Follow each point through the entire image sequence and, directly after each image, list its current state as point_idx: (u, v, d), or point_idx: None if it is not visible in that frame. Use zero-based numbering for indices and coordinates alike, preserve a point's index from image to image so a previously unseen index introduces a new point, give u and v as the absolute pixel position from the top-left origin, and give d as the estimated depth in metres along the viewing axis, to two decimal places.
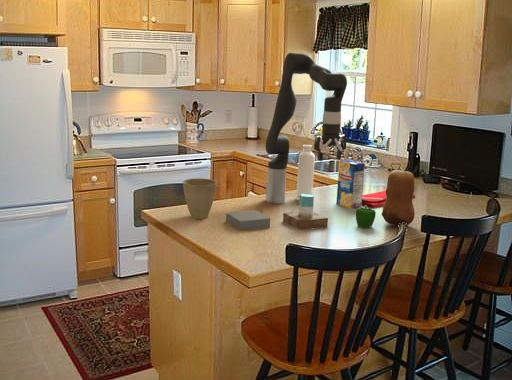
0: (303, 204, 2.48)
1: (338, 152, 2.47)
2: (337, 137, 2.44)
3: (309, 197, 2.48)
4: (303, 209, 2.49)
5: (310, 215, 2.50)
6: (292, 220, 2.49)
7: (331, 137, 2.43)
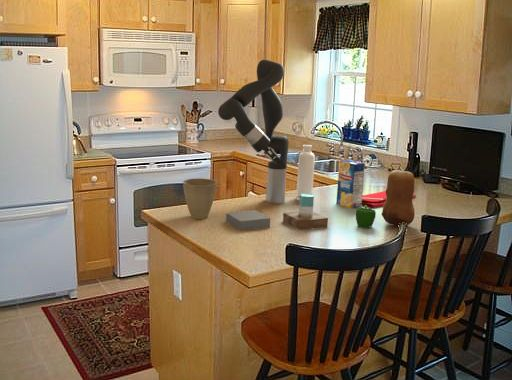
0: (303, 204, 2.48)
1: None
2: (265, 152, 2.41)
3: (309, 197, 2.48)
4: (303, 209, 2.49)
5: (310, 215, 2.50)
6: (292, 220, 2.49)
7: (264, 151, 2.44)
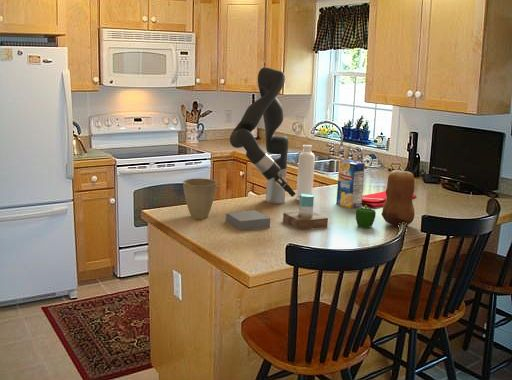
0: (303, 204, 2.48)
1: None
2: (276, 180, 2.44)
3: (309, 197, 2.48)
4: (303, 209, 2.49)
5: (310, 215, 2.50)
6: (292, 220, 2.49)
7: (274, 178, 2.47)
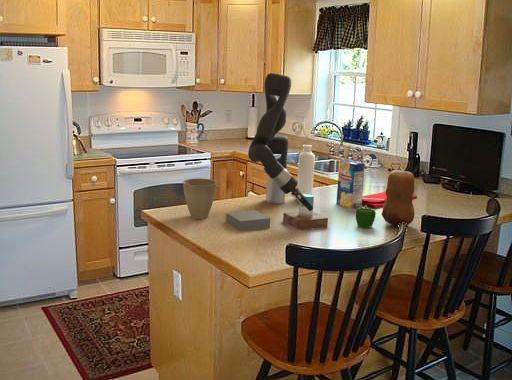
0: None
1: None
2: (293, 194, 2.46)
3: (309, 197, 2.48)
4: (303, 209, 2.49)
5: (310, 215, 2.50)
6: (292, 220, 2.49)
7: (292, 192, 2.49)
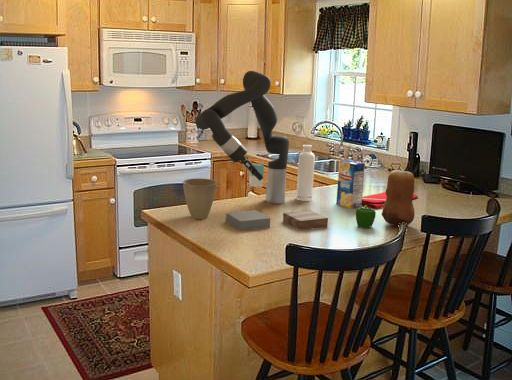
0: None
1: None
2: (242, 162, 2.39)
3: (259, 166, 2.41)
4: (253, 178, 2.42)
5: (260, 185, 2.43)
6: (292, 220, 2.49)
7: (241, 161, 2.42)
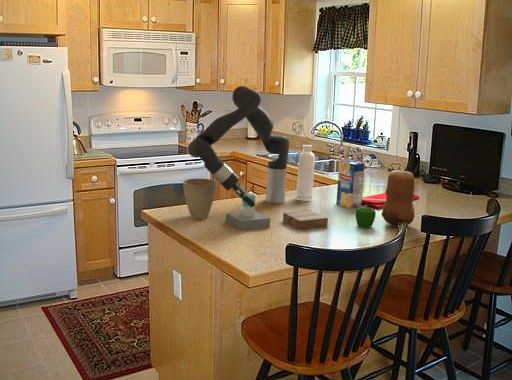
0: (244, 204, 2.44)
1: None
2: (234, 190, 2.42)
3: (250, 197, 2.44)
4: (245, 209, 2.44)
5: (252, 215, 2.45)
6: (292, 220, 2.49)
7: (233, 188, 2.45)
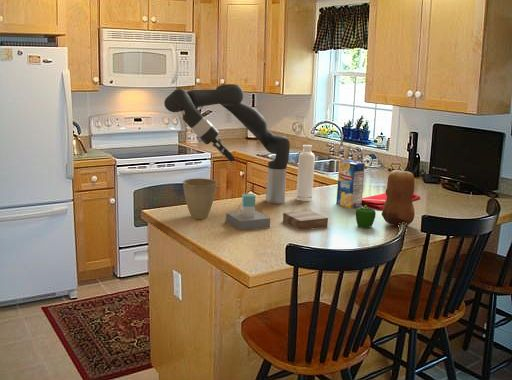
0: (244, 204, 2.44)
1: None
2: (214, 144, 2.36)
3: (250, 197, 2.44)
4: (245, 209, 2.44)
5: (252, 215, 2.45)
6: (292, 220, 2.49)
7: None
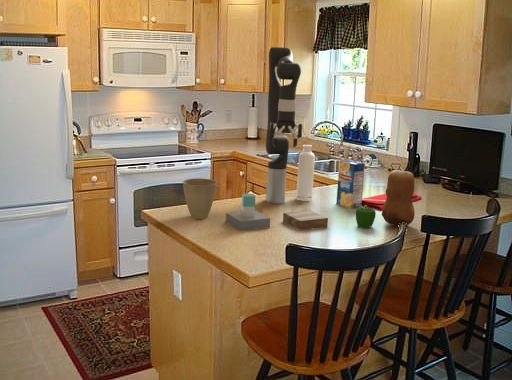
0: (244, 204, 2.44)
1: (294, 140, 2.56)
2: (292, 125, 2.53)
3: (250, 197, 2.44)
4: (245, 209, 2.44)
5: (252, 215, 2.45)
6: (292, 220, 2.49)
7: (285, 124, 2.53)
